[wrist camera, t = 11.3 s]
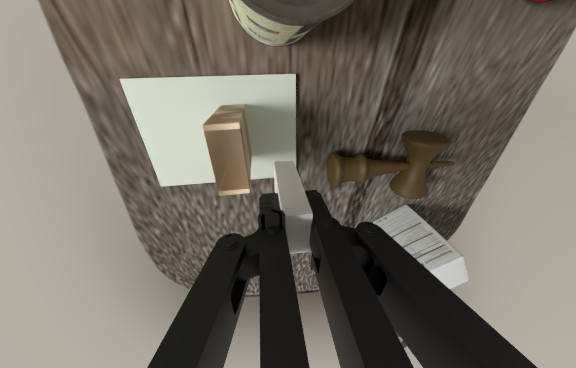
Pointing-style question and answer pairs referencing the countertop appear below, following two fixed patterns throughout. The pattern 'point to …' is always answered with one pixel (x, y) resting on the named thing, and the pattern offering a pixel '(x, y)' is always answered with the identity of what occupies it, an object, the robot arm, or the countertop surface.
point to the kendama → (394, 165)
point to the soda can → (540, 0)
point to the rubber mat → (197, 110)
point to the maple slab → (229, 149)
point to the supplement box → (425, 245)
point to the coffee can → (284, 17)
